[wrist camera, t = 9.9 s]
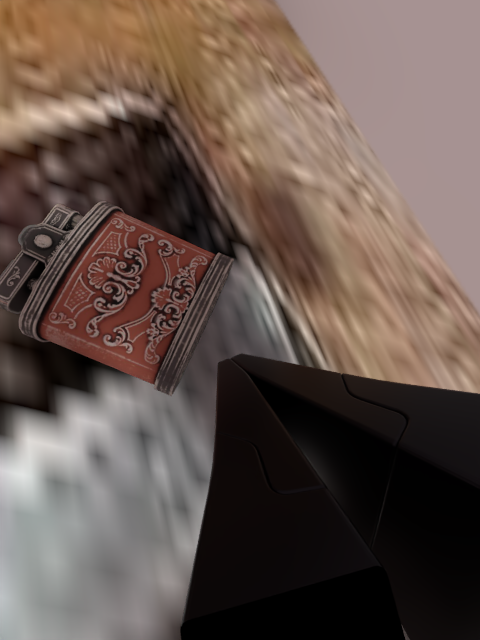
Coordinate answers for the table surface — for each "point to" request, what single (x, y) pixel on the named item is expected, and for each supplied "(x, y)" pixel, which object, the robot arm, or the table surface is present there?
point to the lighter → (114, 291)
